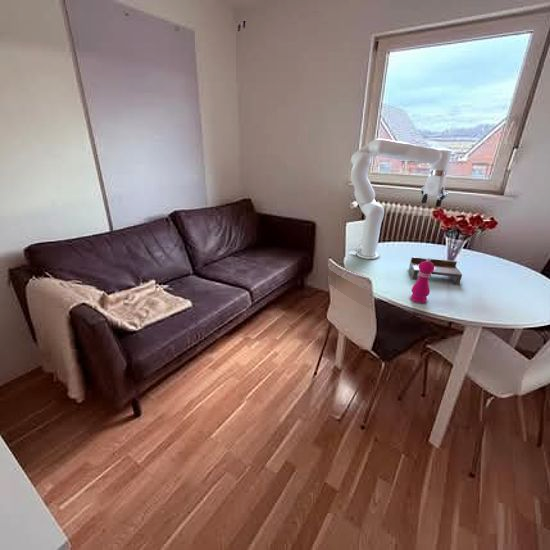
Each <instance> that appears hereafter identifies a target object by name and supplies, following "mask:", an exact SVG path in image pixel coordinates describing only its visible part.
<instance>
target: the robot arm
mask: <svg viewBox="0 0 550 550" xmlns="http://www.w3.org/2000/svg"><path fill="white" fill-rule="evenodd" d="M451 156H452V150H451V149H448V148H435V147H429V146H424V145H423V146H421V145H418V144H414V143H409V142H404V141H397V140H392V139H385V138H375V139H373V140H371V141H370V142H369V143H367V144H366V145H364V146H363V147H361V148H360V149H358V150H357V151H355V152H354V153H353V154H352V156H350V157H351V158H350V163H351V165H352V167H351V171H350V180H351V183H352V186H353V188H354V199H355V201H356V203H357V204H358V207H359V208H360V211H361V212H362V213H363V215H364V216H365V219H364V223H363V228H362V234H361V240H360V241H361V242H360V246H358V247H352V250H351V251H354V252H356V255H357V256H358V257H359V258H362V259H365V260H375V259H378V258H379V257H380V256H379V253H378V252H377V250H378V245H379V240H380V233H381V227H382V222H383V220H384V217H385V208H384V207H383V205H382V204H380V203H379V202H377V201H376V199H375V198H376V191H375V189H374V188H373V186H372V183H371V181H370V179H369V176H368V170H369V168H370V166H371V163H372V160H373V159H375V158H376V157H381V158H387V159H393V160H399V161H405V162H415V163H422V164H428V165H432V166H431V169H430V171H429V173H430V174H429V175H428V176H427V178H426V181H425V184H424V185H423V186H421V187H420V193H421V196H422V198H421V201H420V202H421V204H427V202H428V198H429V197H428V196H429V195H430V196H435V197H437V199H436V202H435V206H434V207H435V208H441V206H442V201H443V200H444V199H445V198H446V197H447V196H448V194H449V191H448V190H447V189H445V188H446V184H447V183H446V182H447V176H446V175H447V173H448V168H449V163H450V159H451Z"/></svg>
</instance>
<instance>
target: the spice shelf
mask: <svg viewBox="0 0 550 550" xmlns="http://www.w3.org/2000/svg"><path fill="white" fill-rule="evenodd" d="M427 258H428V257H419V256H411V258H410V263H409V267H408V272H409V274H410V277H411V280H413V281H418V277H419V274H418V273H419V271H420V270H419V264H420V263H421V262H423V261H426V259H427ZM430 259H431V261H430V262H432V263H433V264H434V271H433V272H431V273H432V274H431V275H434V276H443V277H444V276H445V277H450V279H451V281H452V282H453V284H454V285H460V284H461V281H462V278H463V273H462V272H461V271H460V269H459V268H458V267H457V263H458V261H457V260H450V259H449V260H448V259H439V258H430Z"/></svg>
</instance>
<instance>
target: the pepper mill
mask: <svg viewBox="0 0 550 550" xmlns="http://www.w3.org/2000/svg"><path fill="white" fill-rule="evenodd" d="M426 258H427V259H426V261H423V262H421V263H420V264H419V270H420V271H419V273H418V278H417V280H416V282H415V283H414V284H413V286H412V288H411V297H410V299H411V300H412V301H413V302H414V303H417V304H425V303H426V302H427V299H428V296H429V295H430V291H431V290H430V284H429V280H430V278H431V277H432V275H433V274H432V273H431V272H433V271H434V264H433V263H432V262H430V261H431V259H432V258H430V257H426Z"/></svg>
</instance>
